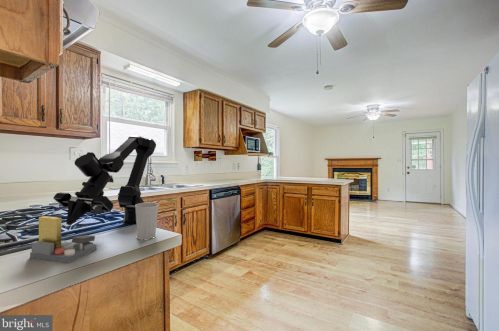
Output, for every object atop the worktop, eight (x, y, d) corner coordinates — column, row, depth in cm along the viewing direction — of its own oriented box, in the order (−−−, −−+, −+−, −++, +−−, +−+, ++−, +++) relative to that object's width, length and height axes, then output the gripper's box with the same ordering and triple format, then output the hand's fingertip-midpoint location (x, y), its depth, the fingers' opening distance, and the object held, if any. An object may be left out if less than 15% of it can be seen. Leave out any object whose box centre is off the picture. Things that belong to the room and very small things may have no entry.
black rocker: (85, 239, 77) (86, 235, 78) (94, 240, 77) (95, 236, 77) (71, 242, 72) (72, 237, 73) (81, 243, 72) (81, 238, 72)
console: (62, 245, 79) (62, 230, 79) (96, 249, 77) (96, 234, 77) (30, 257, 70) (30, 241, 69) (68, 263, 68) (68, 246, 67)
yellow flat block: (45, 246, 73) (45, 215, 73) (62, 249, 72) (62, 217, 72) (37, 250, 71) (37, 217, 70) (54, 252, 70) (55, 219, 69)
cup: (141, 242, 85) (142, 208, 84) (130, 237, 89) (130, 204, 89) (162, 236, 91) (163, 205, 90) (150, 232, 96) (151, 201, 95)
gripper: (129, 199, 92) (107, 238, 82) (85, 195, 95) (59, 233, 85) (114, 181, 83) (88, 222, 73) (67, 178, 86) (36, 217, 76)
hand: (68, 224), depth 77 cm, fingers closed
